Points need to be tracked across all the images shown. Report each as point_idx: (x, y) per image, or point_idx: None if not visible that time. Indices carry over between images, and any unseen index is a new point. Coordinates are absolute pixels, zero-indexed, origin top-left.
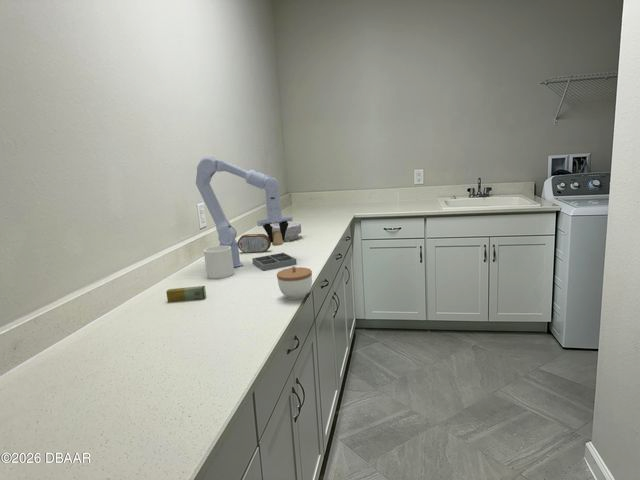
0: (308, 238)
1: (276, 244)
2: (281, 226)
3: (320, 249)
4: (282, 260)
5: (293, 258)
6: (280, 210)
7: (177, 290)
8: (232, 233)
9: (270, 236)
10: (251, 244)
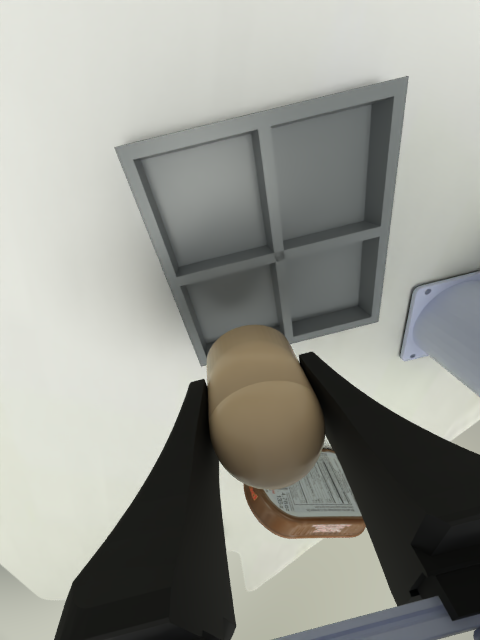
0: (94, 539)
1: (267, 332)
2: (208, 556)
3: (5, 419)
4: (220, 258)
5: (139, 181)
6: None
7: None
8: None
9: (350, 385)
10: (322, 480)
